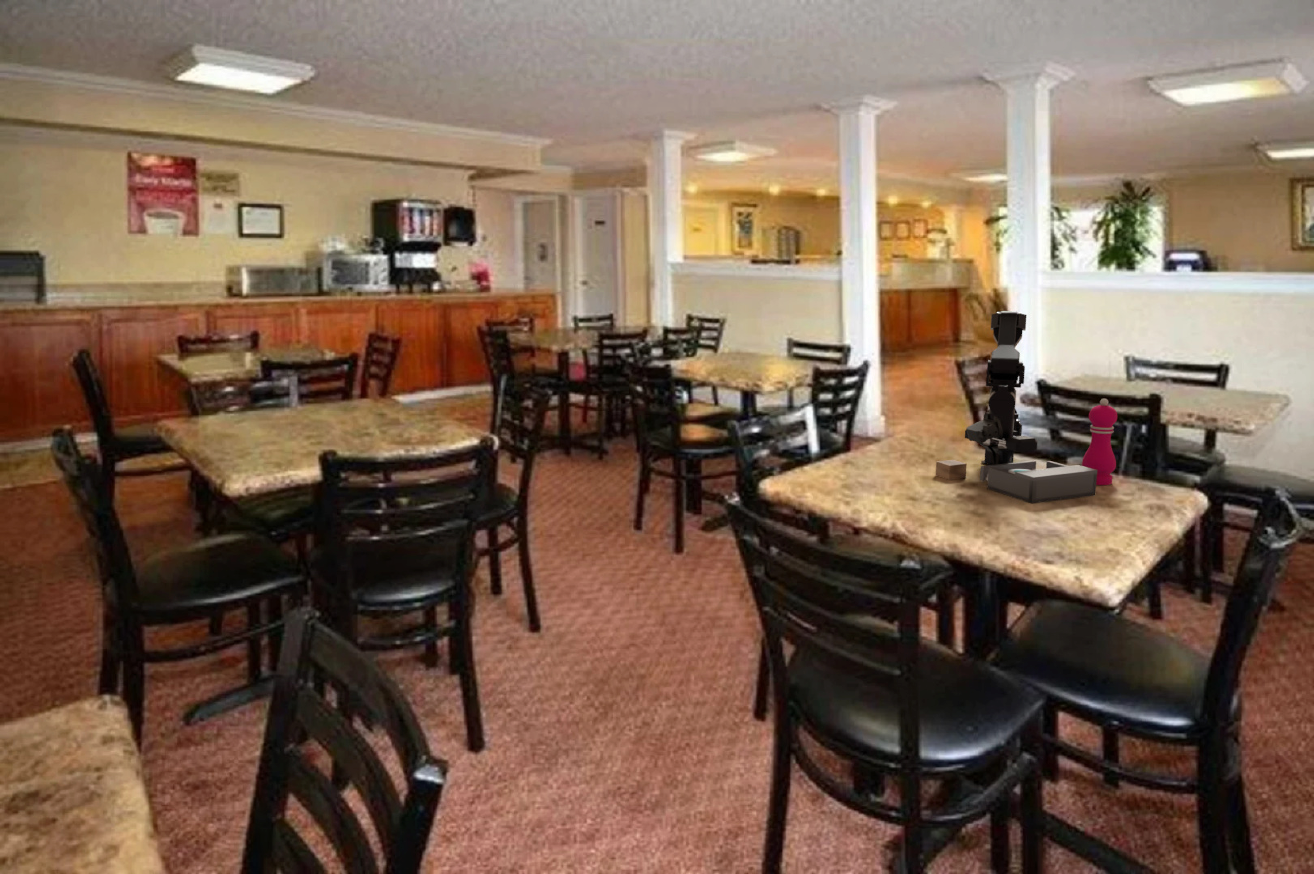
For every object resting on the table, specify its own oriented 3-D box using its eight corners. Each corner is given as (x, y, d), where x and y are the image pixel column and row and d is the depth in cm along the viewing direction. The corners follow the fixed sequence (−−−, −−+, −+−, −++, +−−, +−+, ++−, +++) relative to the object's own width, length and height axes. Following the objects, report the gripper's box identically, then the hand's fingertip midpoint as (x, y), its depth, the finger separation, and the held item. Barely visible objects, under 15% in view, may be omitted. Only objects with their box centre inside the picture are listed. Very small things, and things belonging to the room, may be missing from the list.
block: (952, 473, 227) (953, 459, 227) (965, 477, 223) (966, 463, 222) (935, 475, 225) (936, 461, 225) (948, 479, 221) (949, 465, 220)
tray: (1032, 474, 222) (1033, 460, 221) (1075, 486, 209) (1076, 472, 209) (979, 480, 216) (980, 466, 215) (1021, 493, 204) (1022, 478, 203)
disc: (1025, 474, 218) (1025, 467, 218) (1046, 481, 212) (1047, 473, 211) (1001, 477, 216) (1001, 469, 215) (1022, 483, 209) (1022, 476, 209)
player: (1048, 481, 218) (1050, 457, 217) (1095, 495, 206) (1097, 469, 205) (987, 488, 212) (988, 464, 211) (1031, 503, 199) (1033, 477, 198)
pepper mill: (1087, 477, 222) (1094, 395, 219) (1118, 482, 217) (1126, 398, 214) (1075, 482, 217) (1082, 398, 214) (1107, 487, 212) (1115, 402, 209)
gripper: (948, 405, 223) (944, 468, 226) (1002, 417, 206) (997, 485, 209) (985, 402, 227) (981, 464, 230) (1041, 414, 209) (1036, 481, 212)
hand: (997, 473), depth 220 cm, fingers closed
